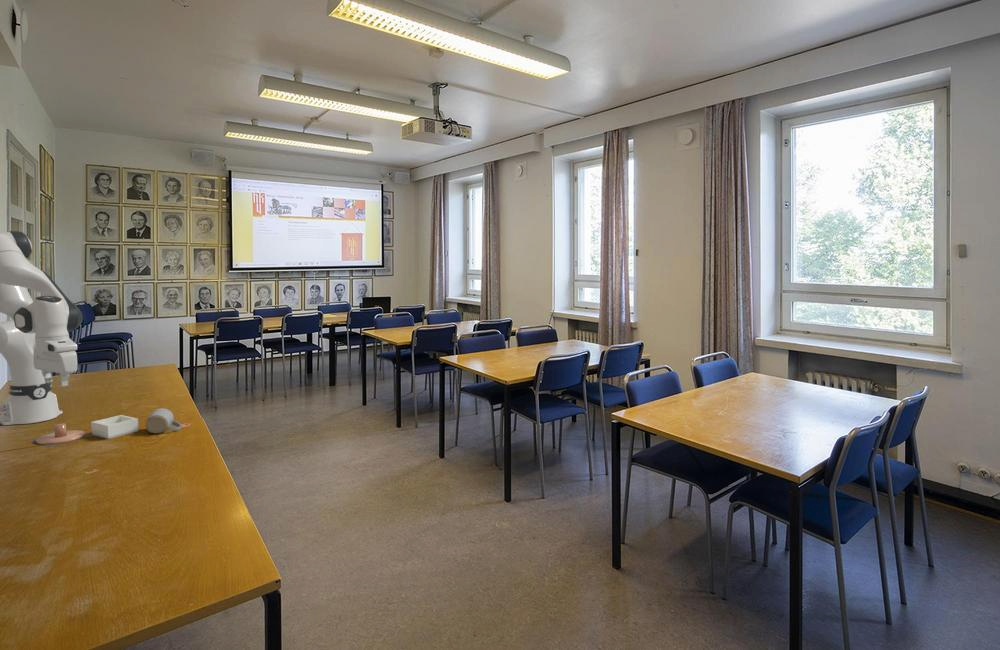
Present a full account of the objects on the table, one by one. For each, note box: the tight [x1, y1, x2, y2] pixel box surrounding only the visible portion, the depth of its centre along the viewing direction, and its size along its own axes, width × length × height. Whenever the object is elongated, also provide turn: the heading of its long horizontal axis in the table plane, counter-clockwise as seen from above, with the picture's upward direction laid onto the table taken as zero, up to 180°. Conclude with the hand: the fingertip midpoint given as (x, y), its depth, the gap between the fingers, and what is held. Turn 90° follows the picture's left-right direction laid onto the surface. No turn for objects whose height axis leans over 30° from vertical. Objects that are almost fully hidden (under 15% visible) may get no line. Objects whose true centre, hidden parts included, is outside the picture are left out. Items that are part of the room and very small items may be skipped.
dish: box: [90, 414, 140, 440], centre depth 190 cm, size 10×10×5 cm
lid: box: [35, 422, 86, 445], centre depth 183 cm, size 13×13×5 cm
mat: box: [28, 433, 93, 448], centre depth 184 cm, size 13×13×1 cm
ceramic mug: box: [145, 407, 182, 435], centre depth 194 cm, size 11×8×8 cm
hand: (56, 384), depth 181 cm, fingers open, 8 cm apart
